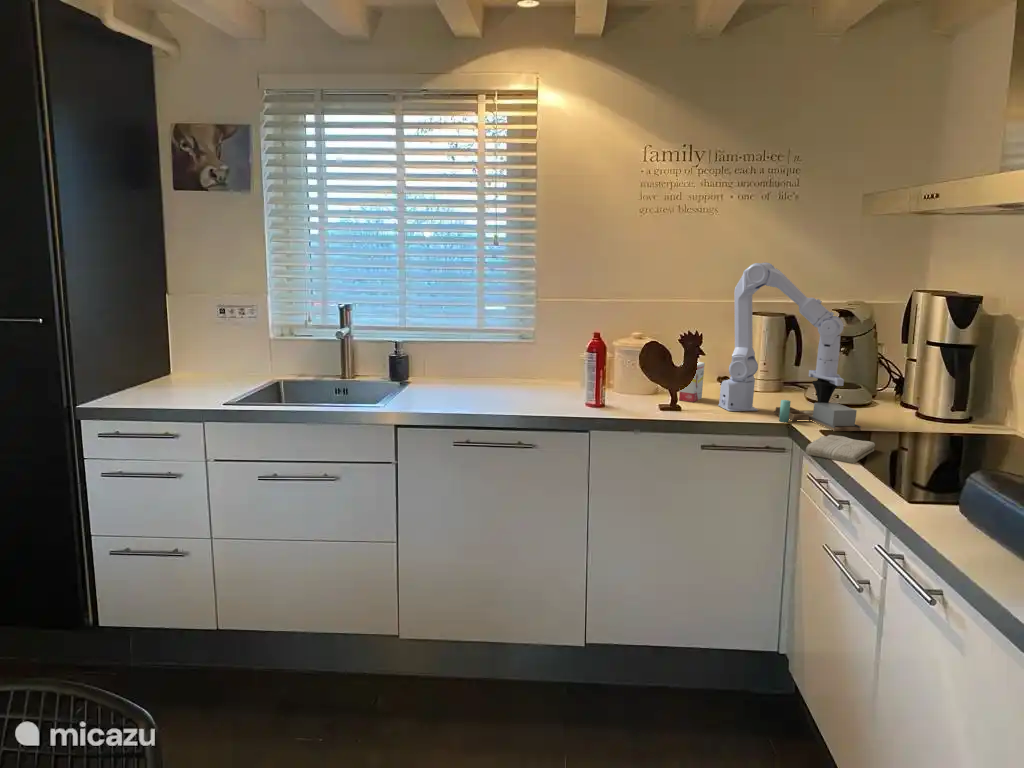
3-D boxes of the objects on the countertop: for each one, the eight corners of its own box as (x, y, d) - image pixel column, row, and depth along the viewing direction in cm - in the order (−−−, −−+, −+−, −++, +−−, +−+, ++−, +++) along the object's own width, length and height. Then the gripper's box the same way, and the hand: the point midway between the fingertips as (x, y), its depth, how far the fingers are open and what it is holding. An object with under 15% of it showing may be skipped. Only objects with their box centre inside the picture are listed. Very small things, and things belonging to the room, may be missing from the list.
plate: (833, 431, 222) (835, 419, 222) (791, 413, 243) (792, 402, 243) (860, 430, 224) (861, 419, 223) (816, 412, 245) (817, 402, 244)
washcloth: (875, 451, 204) (877, 439, 203) (855, 466, 190) (856, 453, 190) (827, 443, 211) (828, 431, 211) (804, 456, 197) (805, 444, 197)
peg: (781, 422, 231) (783, 401, 230) (777, 420, 233) (779, 399, 232) (790, 422, 231) (792, 401, 230) (785, 420, 234) (787, 399, 233)
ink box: (693, 402, 254) (696, 365, 252) (678, 400, 257) (680, 363, 255) (702, 398, 261) (705, 362, 259) (688, 396, 264) (690, 360, 262)
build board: (792, 421, 232) (793, 415, 232) (774, 413, 242) (775, 407, 242) (809, 421, 233) (810, 414, 233) (790, 413, 243) (791, 406, 243)
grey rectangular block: (832, 426, 224) (834, 410, 223) (812, 417, 233) (814, 402, 233) (854, 425, 225) (856, 410, 224) (834, 417, 235) (835, 402, 234)
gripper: (855, 363, 226) (850, 411, 228) (826, 355, 240) (821, 400, 242) (832, 363, 224) (827, 411, 227) (804, 355, 238) (799, 400, 241)
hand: (822, 405), depth 234 cm, fingers closed
